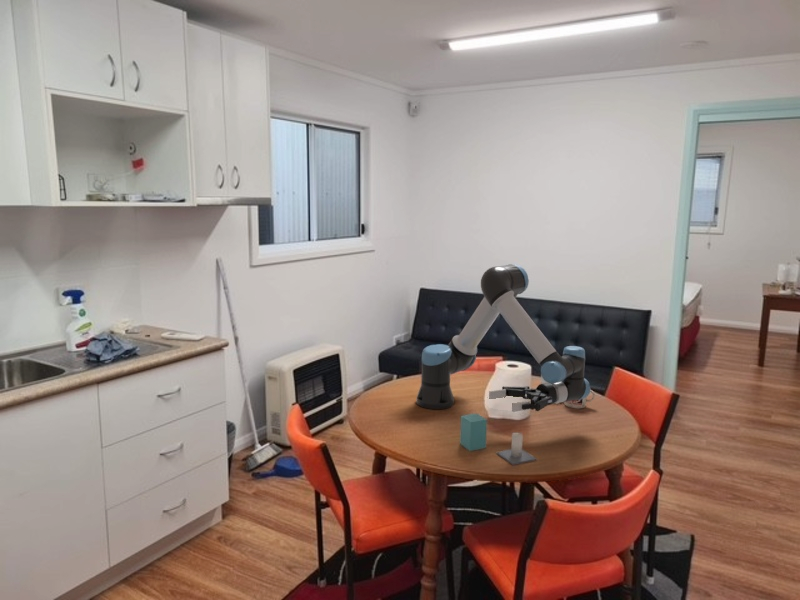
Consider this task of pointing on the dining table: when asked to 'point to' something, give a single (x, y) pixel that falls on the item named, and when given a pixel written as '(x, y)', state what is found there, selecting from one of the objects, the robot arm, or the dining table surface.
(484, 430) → the teal rectangular prism
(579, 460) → the dining table surface
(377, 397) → the dining table surface
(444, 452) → the dining table surface
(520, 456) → the post
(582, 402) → the teacup with lid
